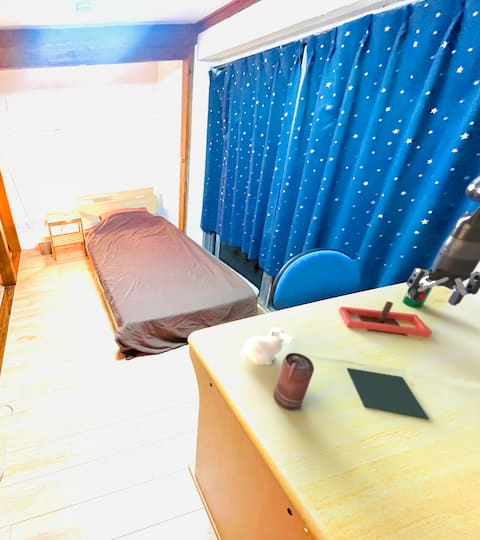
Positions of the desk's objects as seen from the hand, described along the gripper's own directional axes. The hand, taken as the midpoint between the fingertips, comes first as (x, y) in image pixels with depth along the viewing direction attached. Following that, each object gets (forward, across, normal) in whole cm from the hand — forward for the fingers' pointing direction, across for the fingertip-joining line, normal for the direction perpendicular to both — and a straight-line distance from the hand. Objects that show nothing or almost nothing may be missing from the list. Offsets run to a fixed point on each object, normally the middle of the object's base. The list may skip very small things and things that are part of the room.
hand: (432, 302), depth 82 cm
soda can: (+11, -5, -14) cm, 18 cm away
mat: (+11, +18, +28) cm, 35 cm away
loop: (+10, +9, 0) cm, 14 cm away
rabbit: (+11, +45, +23) cm, 52 cm away
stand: (+11, +9, 0) cm, 14 cm away
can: (+11, +41, +37) cm, 57 cm away
